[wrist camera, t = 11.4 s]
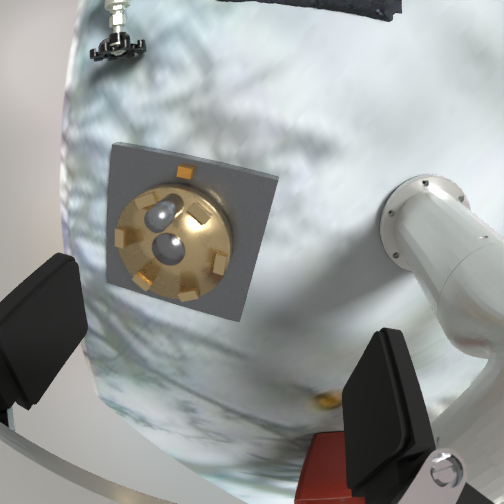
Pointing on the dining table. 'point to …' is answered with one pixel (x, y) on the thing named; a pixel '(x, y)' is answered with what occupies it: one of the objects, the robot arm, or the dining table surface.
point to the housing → (215, 187)
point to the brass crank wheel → (174, 241)
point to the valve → (117, 35)
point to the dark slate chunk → (346, 6)
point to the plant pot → (325, 473)
